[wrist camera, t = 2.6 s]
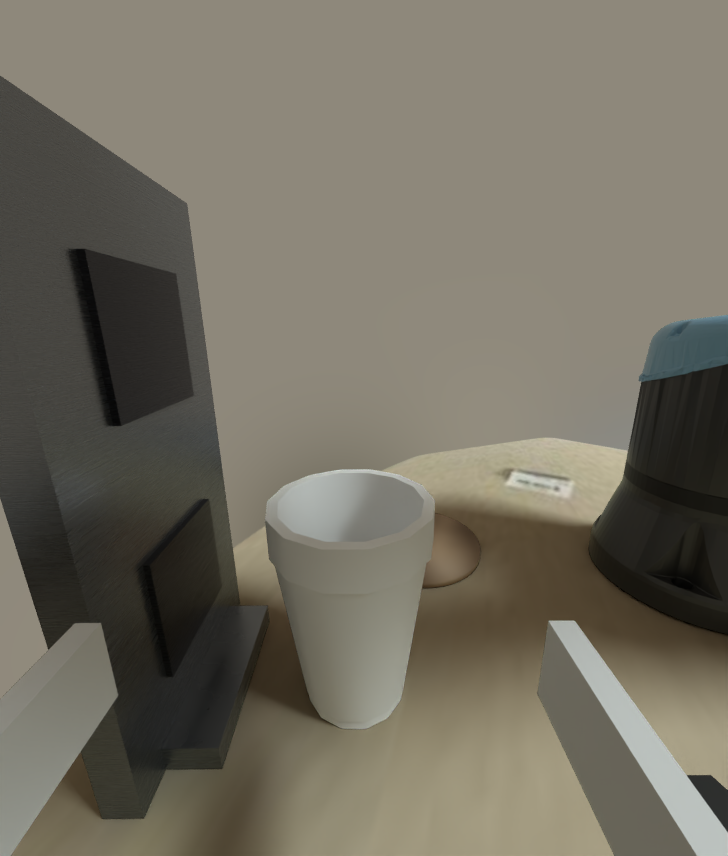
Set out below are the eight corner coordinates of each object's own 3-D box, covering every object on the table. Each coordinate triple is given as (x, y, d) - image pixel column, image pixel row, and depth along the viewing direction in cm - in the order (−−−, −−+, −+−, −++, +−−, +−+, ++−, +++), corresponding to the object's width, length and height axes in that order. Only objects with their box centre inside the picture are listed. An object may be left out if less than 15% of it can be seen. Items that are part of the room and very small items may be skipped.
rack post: (275, 602, 31) (234, 202, 23) (206, 817, 17) (46, 24, 9) (216, 603, 31) (155, 204, 23) (102, 819, 17) (-150, 28, 9)
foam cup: (418, 783, 19) (426, 564, 15) (255, 737, 21) (228, 536, 17) (431, 634, 27) (438, 474, 24) (316, 613, 30) (307, 464, 26)
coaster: (461, 513, 45) (461, 509, 45) (499, 587, 32) (499, 581, 32) (355, 515, 45) (355, 511, 45) (352, 589, 32) (352, 583, 32)
